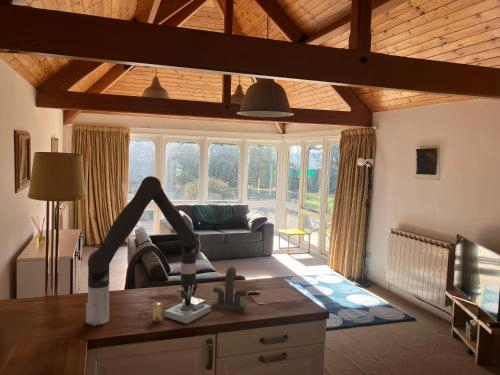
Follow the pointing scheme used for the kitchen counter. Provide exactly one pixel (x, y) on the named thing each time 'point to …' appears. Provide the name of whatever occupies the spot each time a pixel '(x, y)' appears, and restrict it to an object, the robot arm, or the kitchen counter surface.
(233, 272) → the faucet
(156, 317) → the cylinder
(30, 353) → the kitchen counter surface
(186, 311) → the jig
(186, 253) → the robot arm
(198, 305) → the shunt plate
